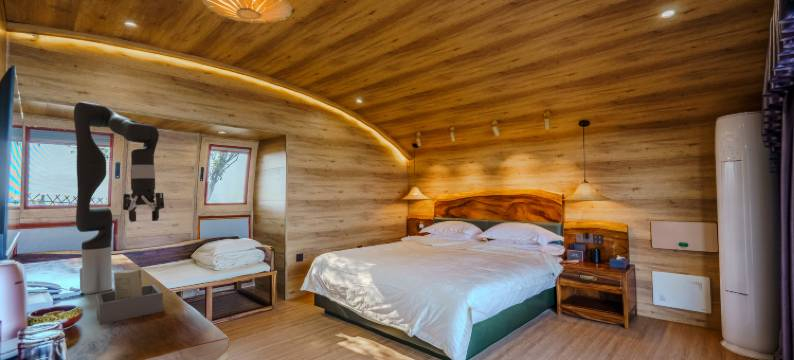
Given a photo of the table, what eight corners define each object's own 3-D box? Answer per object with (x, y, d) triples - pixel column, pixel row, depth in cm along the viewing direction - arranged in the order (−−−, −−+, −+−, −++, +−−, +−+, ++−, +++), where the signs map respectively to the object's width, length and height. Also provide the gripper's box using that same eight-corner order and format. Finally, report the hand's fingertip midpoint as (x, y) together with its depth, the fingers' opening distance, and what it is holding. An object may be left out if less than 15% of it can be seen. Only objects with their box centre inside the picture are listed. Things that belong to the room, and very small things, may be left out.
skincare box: (143, 306, 124) (142, 269, 124) (133, 310, 120) (132, 272, 120) (125, 306, 124) (124, 269, 125) (114, 311, 120) (113, 272, 120)
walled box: (99, 324, 111) (99, 304, 111) (97, 312, 123) (96, 293, 123) (162, 311, 121) (162, 292, 121) (154, 301, 133) (154, 284, 133)
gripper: (168, 177, 142) (169, 219, 142) (132, 178, 143) (133, 220, 143) (154, 176, 135) (155, 221, 135) (116, 178, 136) (117, 222, 136)
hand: (144, 221), depth 139 cm, fingers open, 8 cm apart
